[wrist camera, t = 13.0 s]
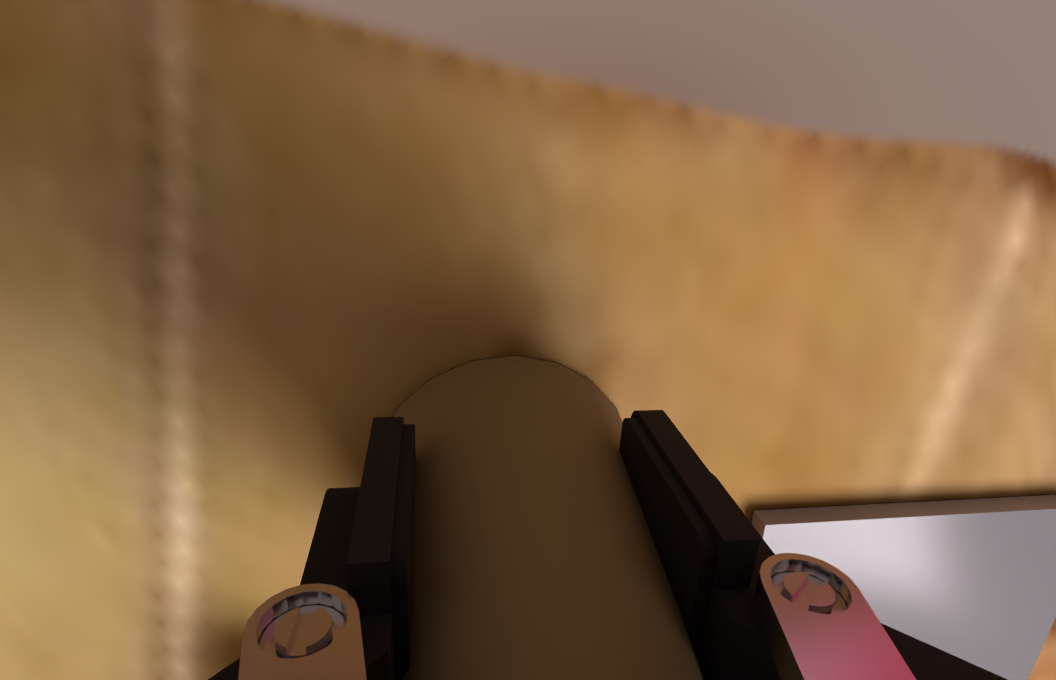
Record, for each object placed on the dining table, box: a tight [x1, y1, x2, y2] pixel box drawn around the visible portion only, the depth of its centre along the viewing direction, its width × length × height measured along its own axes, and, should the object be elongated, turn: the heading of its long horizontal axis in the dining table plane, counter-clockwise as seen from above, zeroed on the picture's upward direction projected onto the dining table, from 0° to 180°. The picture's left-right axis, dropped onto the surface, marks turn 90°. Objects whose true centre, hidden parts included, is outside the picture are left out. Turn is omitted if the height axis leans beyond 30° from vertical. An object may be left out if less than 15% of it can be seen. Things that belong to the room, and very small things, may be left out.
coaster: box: [751, 495, 1056, 680], centre depth 18 cm, size 10×10×1 cm
